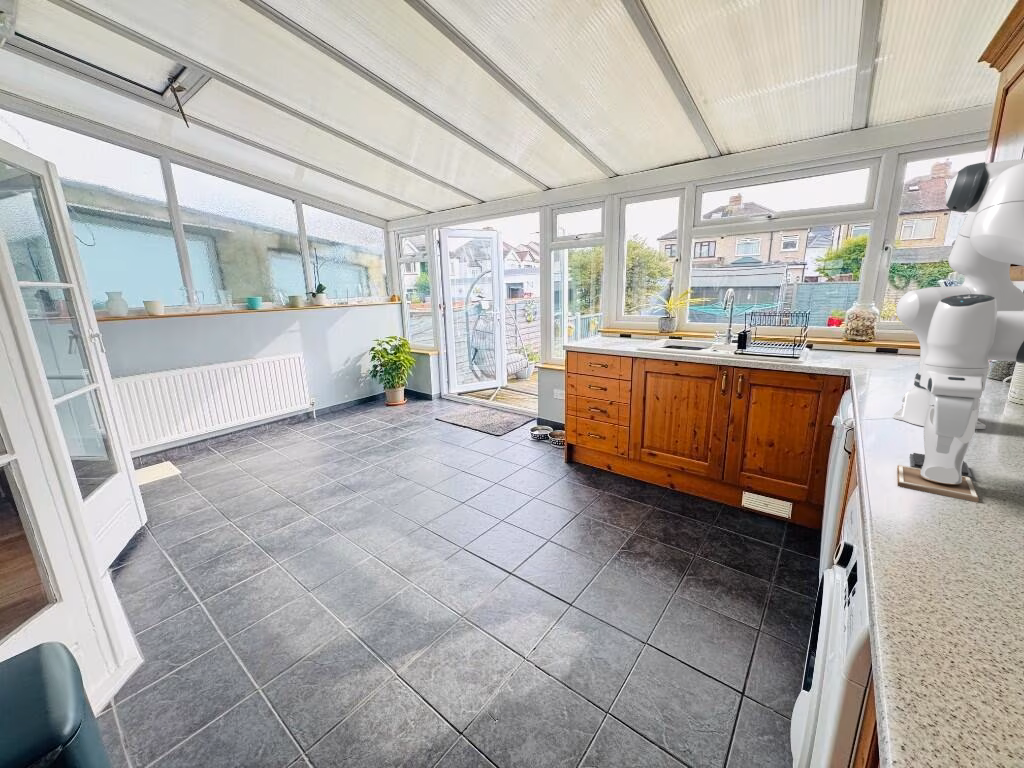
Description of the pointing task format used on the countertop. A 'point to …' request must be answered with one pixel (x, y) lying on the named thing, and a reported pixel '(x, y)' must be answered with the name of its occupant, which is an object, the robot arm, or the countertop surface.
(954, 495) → the board
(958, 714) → the countertop surface
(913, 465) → the ink pad
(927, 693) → the countertop surface
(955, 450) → the beer glass
